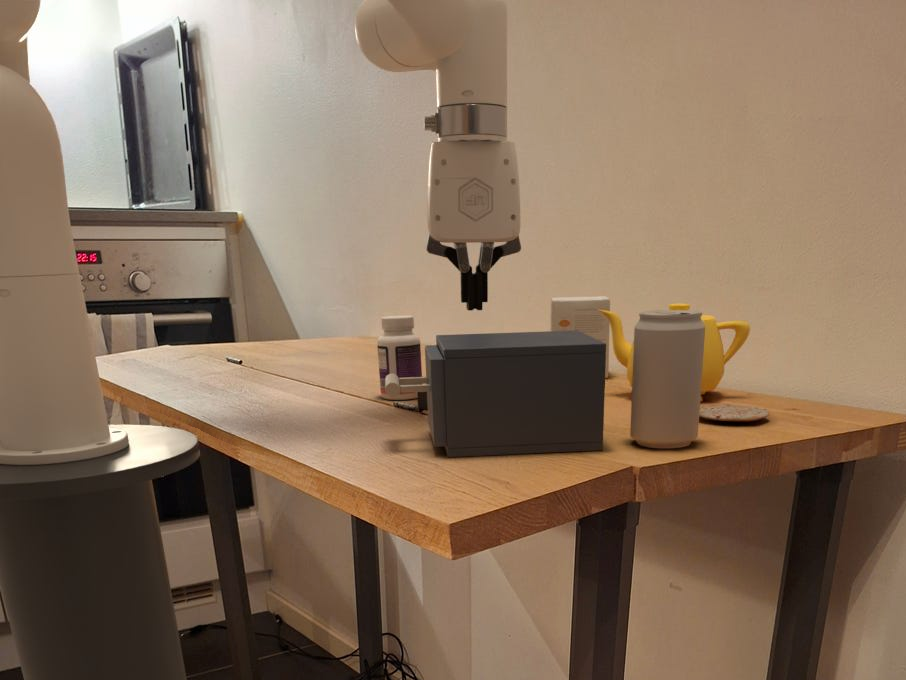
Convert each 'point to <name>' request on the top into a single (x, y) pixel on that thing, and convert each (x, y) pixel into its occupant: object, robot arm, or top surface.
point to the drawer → (434, 389)
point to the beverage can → (667, 378)
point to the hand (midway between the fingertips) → (474, 309)
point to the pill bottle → (399, 353)
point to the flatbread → (733, 412)
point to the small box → (582, 318)
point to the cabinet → (523, 392)
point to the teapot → (712, 346)
